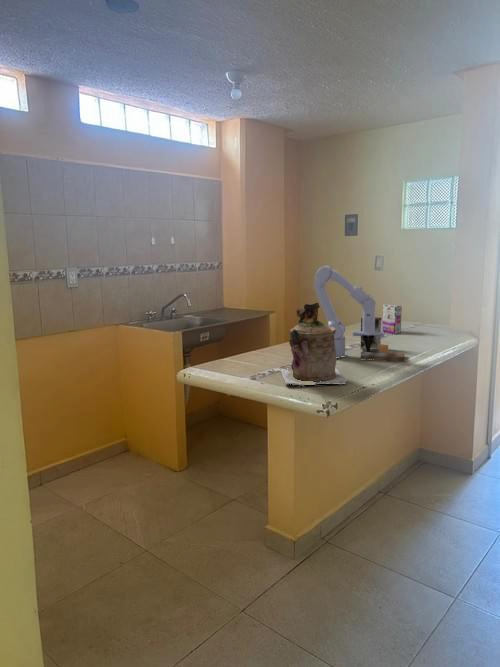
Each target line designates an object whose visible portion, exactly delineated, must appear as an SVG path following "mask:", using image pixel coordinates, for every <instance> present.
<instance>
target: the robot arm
mask: <svg viewBox="0 0 500 667" xmlns="http://www.w3.org/2000/svg"><path fill="white" fill-rule="evenodd" d="M314 274H315V275H314V276H315V277H314V284H313V289H314V291H315V294H316V296H317V299H318V300H319V304H320V307H321V308H322V310H323V313H324V315H325V318H326V321H327V325H328V326H329V327H334V328H335V329H336V333H335V334H334V339H335V341H334V343H335V349H336V357H341V356H347V357H349V356H348V355H349V354H346V336H345V335H344V334H345V332H346V327H345V325H344V324H343V323H342V322H341V320H340V318H339V317H338V315H337V314H336V310H335V308H334V306H333V303H332V300H331V299H330V295H329V294H328V291H327V288H326V286H327V283H328V282H329V281H333V282H336V283H338V284H339V285H340V286H342V287H343V288H344V289H346V290H347V291H348V293H349V296H350V298H352V299H353V300H354V301H355V302H357V303H358V304H359V305H361V307H362V312H363V313H362V318H363V324H362V331H361V330H360V331H352V337H361V336H363V341H364V343H365V346H366V350H367V352H370V347H371V344H372V342H373V339H374V337H381V338H385V336H386V335H385V333H386V332H383V331H381V332H375V317H376V309H375V308H376V304H377V303H376V300H375V298H374V297H373V296H371V294H368V293H366V292H365V291H364V290H363V287H362V286H360V287H359V285H358V286H357V285H356V286H354V285H353V284H352V283H350V281H348V280H347V279H346V278H345V277H344V276H343V275H342V274H341V273H340V272H339V271H337V269H335V268H332V266H331V265H327V264H326V265H325V264H324V265H323V266H320V267H319V268H318V269H317V271H316V273H314ZM368 336H369V346H368ZM345 354H346V355H345Z"/></svg>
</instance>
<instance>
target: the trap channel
mask: <svg viewBox="0 0 500 667" xmlns="http://www.w3.org/2000/svg"><path fill="white" fill-rule="evenodd" d="M361 350H362V351H360V360H361V359H372V360H371V361H373V359H374V360H386V361H385V362H396V361H399V362H400V363H401V362H402V363H404V362H405V356H406V355H405V352H404V351H388V355H386V353H379V348H370V352H367V350H366V348H362V349H361Z"/></svg>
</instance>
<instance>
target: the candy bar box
mask: <svg viewBox="0 0 500 667" xmlns="http://www.w3.org/2000/svg"><path fill="white" fill-rule="evenodd" d="M402 310H403V309H402V305H396V304H383V305H382V332H385V333H388V334H392V335H398V334H401V333H402Z"/></svg>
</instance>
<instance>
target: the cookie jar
mask: <svg viewBox="0 0 500 667" xmlns="http://www.w3.org/2000/svg"><path fill="white" fill-rule="evenodd" d="M320 307H321V305H320V302H318V301H317V302H316V301H315V302H314V303H310V302H309V303H308V302H307V303H304V306H303V307H299V308H297V309H296V310H295V311H296V316H297V317H299V320H298V324H296V325H295V326H294V327H293V328H290V329H289V333H288V334H289V337H290V339H289V345H290V351H291V354H292V357H293V359H292V362H291V364H290V365H291V370H292V371H293V377H294V378H295V379H297V380H301V381H313V382H316V383H315V384H326V383H346V384H347V381H348V379H347V377H345V376H344V375H343V374H342V373H341V372H340V370H339V368H338V367H337V358H336V349H335V343H334V341H335V339H334V334H335V333H336V329H335V328H334V327H329V325H326V324H324V323H323V322H322V321H319V320H318V319H319V317H318V315H319V308H320ZM286 369H287V368H280V372H281V376H282V378H284V379H283V381H284V380H285V381H284V383H285V385H289V384H290V385H291V384H292V385H291V386H295V385H304V384H303V383H301V382H298V381H294V380H291V379H290V378H291V377H290V375H291V374H292V373H290V372H289V371H288V370H289V369H287V370H286ZM320 381H321V382H320Z"/></svg>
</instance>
